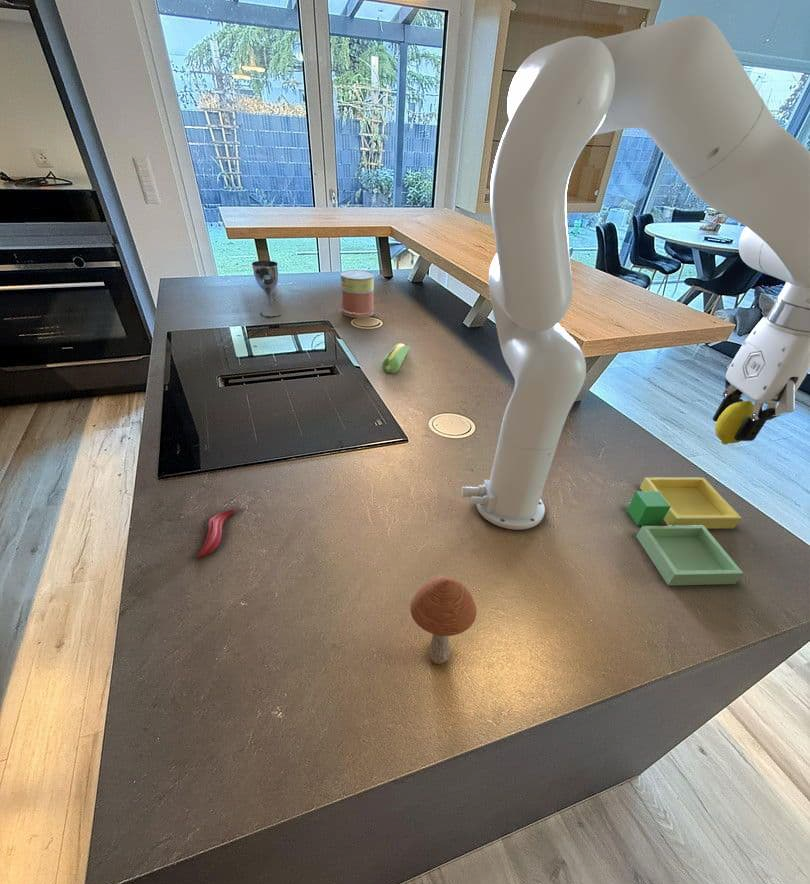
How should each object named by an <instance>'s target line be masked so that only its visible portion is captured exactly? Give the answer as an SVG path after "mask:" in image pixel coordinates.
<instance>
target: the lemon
mask: <svg viewBox="0 0 810 884" xmlns="http://www.w3.org/2000/svg"><path fill="white" fill-rule="evenodd" d="M752 401H753V400H750V399H749V400H746V401H745V400H743V401H741V402H736V403H733V404H732V405H730V406H728V407H727V408H726V409H725V410H724V411H723V412H722V413H721V415H720V416H719V418H718V420H717V421H715V426H714V433H715V436H716V437H717V438H718V439H719V440H720V442H721V444H722V445H728V444H737V443H741V441H737V440H735V439H734V438H735V435H736V433H737V432H738V430H739V429H740V427H741V425H742V424H743V422H744V420H745V419H746V418H747V417H751V415H752V412H753V408H754V405H755V403H753V402H752Z"/></svg>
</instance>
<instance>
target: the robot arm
mask: <svg viewBox="0 0 810 884" xmlns="http://www.w3.org/2000/svg"><path fill="white" fill-rule="evenodd" d="M506 106H507V107H506V108H507V116H508V123H507V125H506V127H505V130H504V132H503V134H502V137H501V140H500V143H499V146H498V149H497V151H496V155H495V158H494V163H493V167H492V172H491V177H490V188H489V189H490V192H489V202H490V215H491V222H492V228H493V229H492V230H493V235H494V243H495V250H496V253H495V255H494V257H493V259H492V261H491V263H490V267H489V270H488V292H489V298H490V303H491V308H492V314H493V318H494V322H495V323H494V324H495V327H496V333H497V337H498V342H499V346H500V351H501V354H502V357H503V359H504V361H505V364H506V366H507V367H508V369H509V371H510V373H511V375H512V377H513V379H514V389H513V391H512V394H511V397H510V398H509V401H508V403H507V405H506V407H505V411H504V413H503V417H502V422H501V426H500V432H499V436H498V441H497V445H496V450H495V454H494V459H493V463H492V467H491V473H490V476H489V479H484V480H483V484H479V485H477V486H461V488H460V495H461V498H469V503H470V505H476V509H477V511H478V513H479V514H480V515H481V516H482V517H483V518H484V519H485V520H487V521H488V522H489V523H491V524H492V525H494V526H497V527H500V528H503V529H508V530H514V531H515V530H528V529H531V528H534V527H536V526H537V525H539V524H540V523H541V522H542V521H543V519H544V516H545V513H546V507H545V504H544V502H543V500H542V498H541V497H542V494H543V491H544V488H545V485H546V481H547V479H548V476H549V473H550V469H551V466H552V464H553V460H554V457H555V455H556V452H557V451H556V450H557V448H558V445H559V441H560V438H561V435H562V432H563V429H564V427H565V424H566V421H567V418H568V415H569V413H570V411H571V409H572V407H573V405H574V403H575V402H576V400H577V398H578V396H579V394H580V392H581V391H582V388H583V385H584V383H585V380H586V376H587V363H586V358H585V355H584V353H583V351H582V348H581V347H580V345H579V344H578V343H577V342H576V341H575V339H574V338H573V337H572V336H571V335H570V334H569V332H567V331H566V330H565V329H564V328H563V327H562V326H561V325H560V323H561V321H562V320H563V319H564V318H565V316H566V314H567V313H568V311H569V308H570V306H571V304H572V299H573V293H574V292H573V291H574V281H573V273H572V265H571V264H572V263H571V254H570V253H571V252H570V244H569V232H568V218H567V215H568V214H567V192H568V185H569V181H570V177H571V174H572V171H573V168H574V167H575V164H576V162H577V160H578V158H579V156H580V155H581V153H582V151H583V150H584V148H585V147H586V145H587V144H588V143H589V142H590V140H591V139H592V138H593V136H597V135H603V134H607V133H613V132H616V131H620V130H621V131H622V130H625V129H641V130H643V131H645V133H647V134H648V136H649V137H650V138H651V140H652V141H653V142H654V143H655V145H656V146H657V147H658V149H659V150H660V151H661V152H662V153H663V155H664V156H665V158H666V159H667V161H669V163H670V164H671V165H672V166H673V168H674V169H675V171H676V172H677V173H678V174H679V175H680V178H681V179H682V180H683V181H684V183H686V185H687V186H688V188H689V189H690V191H691V192H692V193H693V194H694V195H695V196H696V197H697V198H698V199H699V200H700V201H702V202H703V203H704V204H706V205H707V206H708V207H710V208H711V209H713V210H715V211H716V212H718V213H720V214H723V215H724V216H726V217H728V218H730V219H732V220H734V221H736V222H738V223H739V224H742V225H743V226H744V228H743V230H742V232H741V234H740V236H739V240H738V253H739V256H740V258H741V260H742V262H743V263H745V265H747V266H748V267H750V268H751V269H753V270H755V271H757V272H760V273H762V274H764V275H768V276H769V277H770V276H771V277H773V278H776V279H778V280H781V281H783V282H784V283H785V284H784V285H783V287H782V289H781V290H780V292H779V294H778V296H777V298H775V300H774V301H773V303H772V307H771V309H770V310H769V312H768V314H767V316H763V317H762V318H761V319H760V320H759V321H758V322H757V324H756V325H755V327H753V329H752V330H751V332H750V333H749V334H748V336H747V337H746V339H745V340H744V341H743V343H742V344H741V346H740V348H739V350H738V351H737V352H736V354H735V356H734V358H733V359H732V361H731V363H729V365H727V366H726V367H725V379H726V380H725V382H724V384H725V385H724V386H725V390H724V391H723V392H722V398H723V399H722V400H721V403H720V404H719V406H718V407H717V410H716V411H715V413H714V415H713V416H712V420H713V421H714V422H717V420H718V418H719V416H720V415H721V413H722V412H723V411H724V410H725V409H726V408H727V407H728V406H730V405H732V404H733V403H736V402H741V401H744V400H743V398H742V397H743V396H744V395H745V396H747V397H748V399H750V400H751V401H754V408H753V412H752V415H751V417H747V418H746V419H745V420H744V422H743V424H742V425H741V427H740V429H739V430H738V432H737V433H736V435H735V438H734V439H735V440H737V441H740V442H752V441H754V440H755V439H756V438H757V436H758V435H759V434H760V432H761V430H762V428H763V427H764V425H765V423H767V421H772V420H773V419H776V418H779V417H781V416H783V415H787V414H790V413H793V412H794V410H795V393H796V392H797V391H798V389H799V388H800V386H801V385H802V383H803V381H804V380H805V378H806V377H807V374H808V373H809V371H810V150H809V149H808V148H806V147H805V146H804V145H803V144H802V143H801V142H800V140H798V139H797V138H796V137H795V136H794V135H792V134H791V133H790V132H789V131H788V130H786V129H785V128H784V127H782V125H780V124H779V123H778V121H777V120H776V119H775V117H774V116H773V114H772V113H771V112H770V110H769V108H768V106H767V105H766V103H765V102H764V99H763V98H762V97H761V95H760V93H759V91H758V89H757V88H756V87H755V85H754V84H753V82H752V80H751V78H750V77H749V75H748V73H747V71H746V70H745V69H744V66H743V65H742V63H741V62H740V59H739V58H738V56H737V55H736V53H735V51H734V50H733V48H732V47H731V45H730V43H729V42H728V40H727V38H726V37H725V35H724V34H723V32H722V31H721V30H720V28H719V26H718V25H717V24H716V23H714V22H713V21H712V20H711V19H709V18H708V17H705V16H703V15H699V14H690V15H689V14H688V15H684V16H680V17H676V18H672V19H669V20H665V21H661V22H657V23H654V24H651V25H646V26H645V27H640V28H637V29H633V30H629V31H626V32H621V33H617V34H613V35H607V36H603V37H599V38H594V37H591V36H588V35H587V36H586V35H579V36H577V35H576V36H572V37H568V38H565V39H561V40H559V41H557V42H554V43H551V44H549V45H545V46H543V47H540V48H538V49H536V51H534V52H532V53H531V54H530V55H529V56H528V57H526V59H524V61H523V62H522V63H521V65H520V66H519V67H518V68H517V71H516V72H515V74H514V76H513V78H512V81H511V84H510V86H509V91H508V95H507V105H506ZM765 404H767V406H766V408H765V409H764V406H765Z"/></svg>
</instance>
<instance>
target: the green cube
mask: <svg viewBox="0 0 810 884" xmlns="http://www.w3.org/2000/svg"><path fill="white" fill-rule="evenodd" d="M670 507H671V506H670V505H669V504H668V502H667V501H666V500H665V499H664V497H663V496H662V495H661V494H660V492H659V491H642V490H639V491H635V492H634V494H633V497H632V499H631V501H630V503H629V505H628V507H627V508H626V512H627V513H628V514H629V516H630V517H631V519H632V520H633V522H634V523H635V525H636V526H637V527H639V526H661V524H662V523H663V521H664V520H663V519H664V517H665V516H666V514H667V512H668V510H669V509H670Z"/></svg>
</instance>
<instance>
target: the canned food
mask: <svg viewBox="0 0 810 884" xmlns="http://www.w3.org/2000/svg"><path fill="white" fill-rule="evenodd" d="M374 278H375V274H374V273H372V272H370V271H367V270H359V269H351V270H349V269H348V270H344V271H341V272H340V293H341V314H343V315H344V316H346V317H348V318H349V317H350V318H358V319H359V318H363V319H364V318H369V317H371V316H373V315H374V313H375V312H374V302H375V301H374V297H375V295H374V289H375V288H374V287H375V285H374V283H375V281H374V280H375V279H374ZM342 308H343V309H344V310H346V311H349V312H355V313H367V312H370V311H372V310H373V312H371V313H369V314H362V315H356V314H349V313H346V312H344V311H343V310H342Z"/></svg>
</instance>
